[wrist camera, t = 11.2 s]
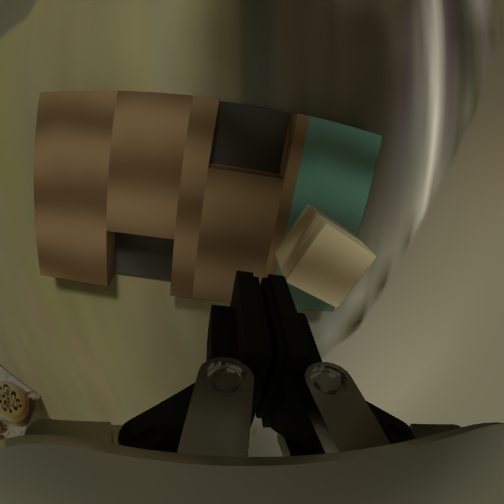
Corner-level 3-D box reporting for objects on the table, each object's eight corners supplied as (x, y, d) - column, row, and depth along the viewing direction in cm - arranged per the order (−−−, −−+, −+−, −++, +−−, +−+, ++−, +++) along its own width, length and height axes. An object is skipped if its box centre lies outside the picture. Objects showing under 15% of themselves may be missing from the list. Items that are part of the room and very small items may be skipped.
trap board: (56, 93, 22) (40, 92, 19) (367, 133, 26) (382, 136, 23) (53, 261, 28) (40, 274, 26) (324, 295, 33) (332, 311, 30)
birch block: (307, 203, 25) (326, 223, 21) (352, 232, 27) (376, 256, 22) (274, 252, 27) (285, 281, 22) (319, 277, 28) (337, 307, 24)
